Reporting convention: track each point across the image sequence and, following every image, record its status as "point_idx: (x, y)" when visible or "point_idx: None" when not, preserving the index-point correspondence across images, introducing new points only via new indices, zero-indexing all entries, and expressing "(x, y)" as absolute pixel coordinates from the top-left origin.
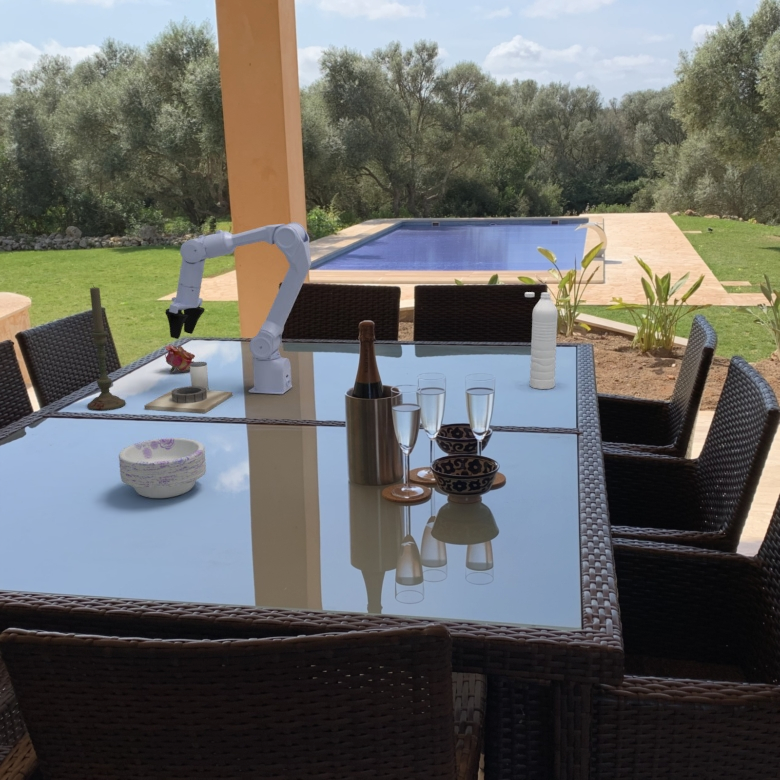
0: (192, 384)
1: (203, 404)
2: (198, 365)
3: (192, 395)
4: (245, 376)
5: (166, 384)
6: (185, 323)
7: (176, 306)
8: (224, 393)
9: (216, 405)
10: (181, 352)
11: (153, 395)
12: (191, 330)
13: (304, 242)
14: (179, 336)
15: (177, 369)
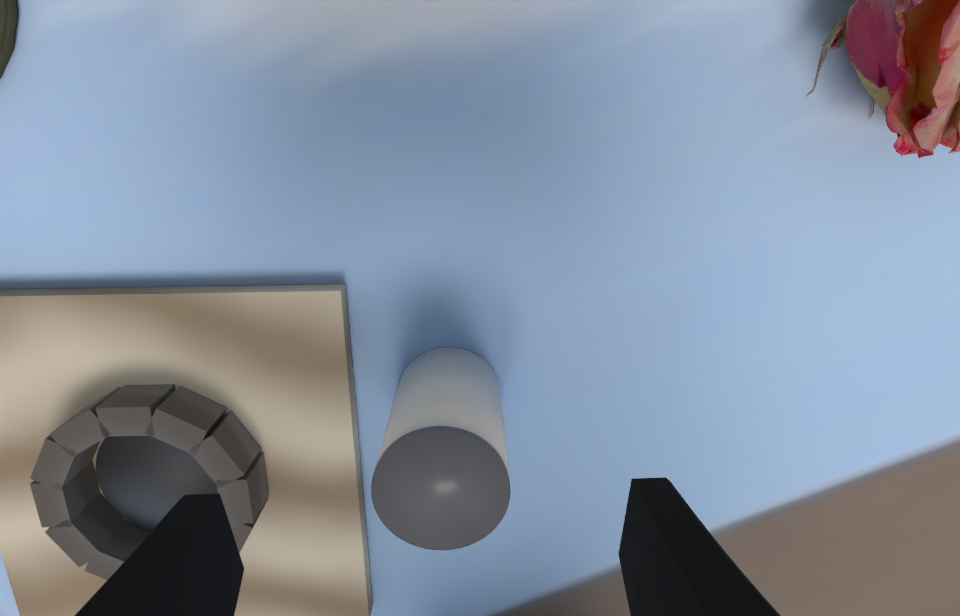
0: (399, 389)
1: (94, 589)
2: (383, 519)
3: (73, 558)
4: (784, 515)
5: (515, 117)
6: (683, 599)
7: None
8: (325, 599)
9: None
10: (950, 81)
11: (231, 177)
12: (630, 599)
13: None
14: (231, 606)
15: (842, 42)
